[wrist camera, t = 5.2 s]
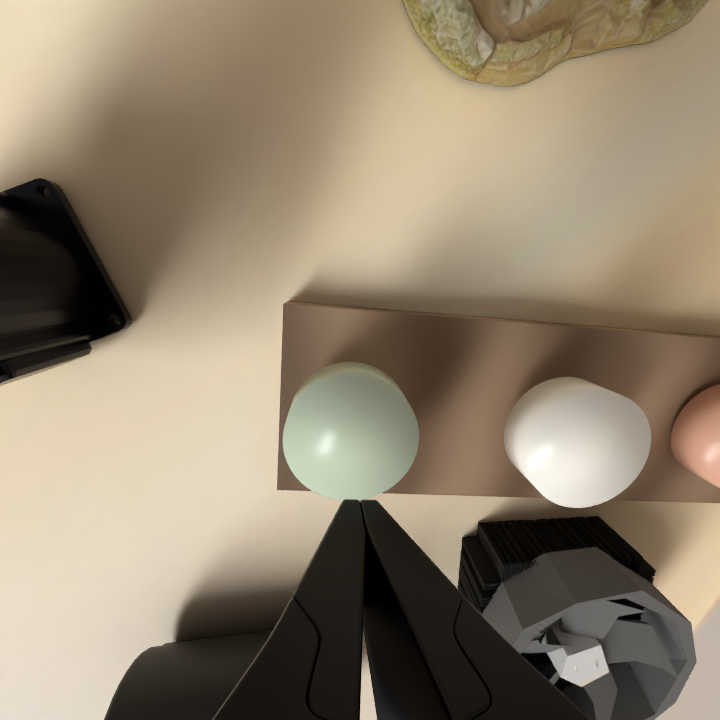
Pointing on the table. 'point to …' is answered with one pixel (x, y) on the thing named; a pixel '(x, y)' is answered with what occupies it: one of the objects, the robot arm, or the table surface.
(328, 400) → the sage key
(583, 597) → the cpu cooler
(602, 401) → the cream key
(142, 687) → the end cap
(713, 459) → the terracotta key
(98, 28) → the table surface
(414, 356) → the board
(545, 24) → the ceramic model
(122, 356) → the table surface
